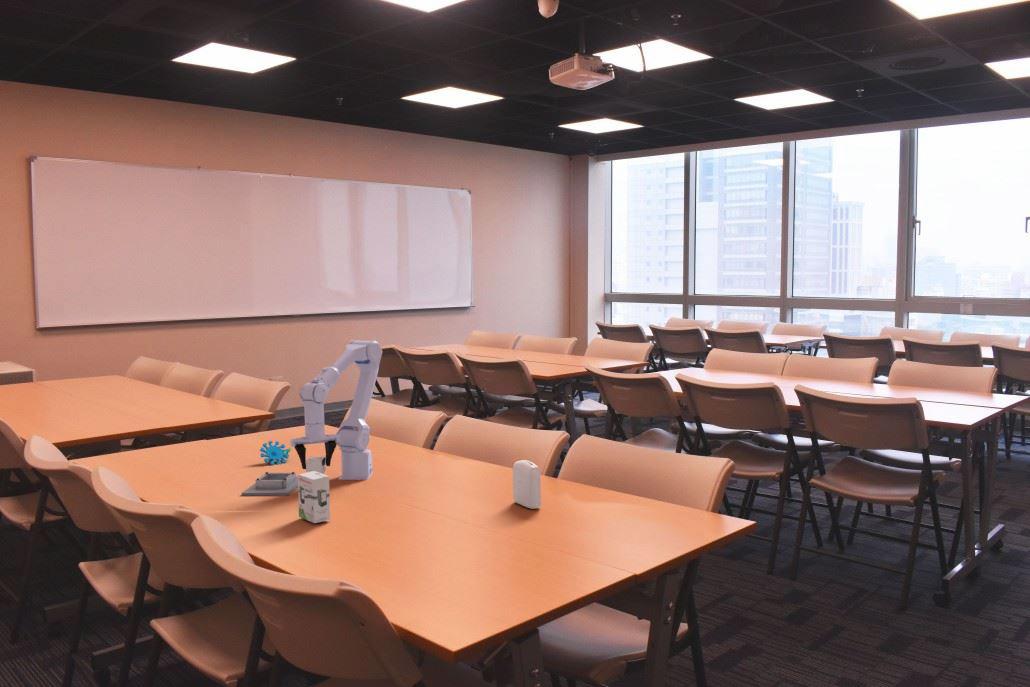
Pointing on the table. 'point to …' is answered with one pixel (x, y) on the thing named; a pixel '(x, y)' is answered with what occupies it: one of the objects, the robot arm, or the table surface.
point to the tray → (273, 485)
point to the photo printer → (526, 484)
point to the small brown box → (316, 464)
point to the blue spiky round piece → (275, 453)
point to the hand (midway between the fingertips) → (316, 467)
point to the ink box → (314, 496)
